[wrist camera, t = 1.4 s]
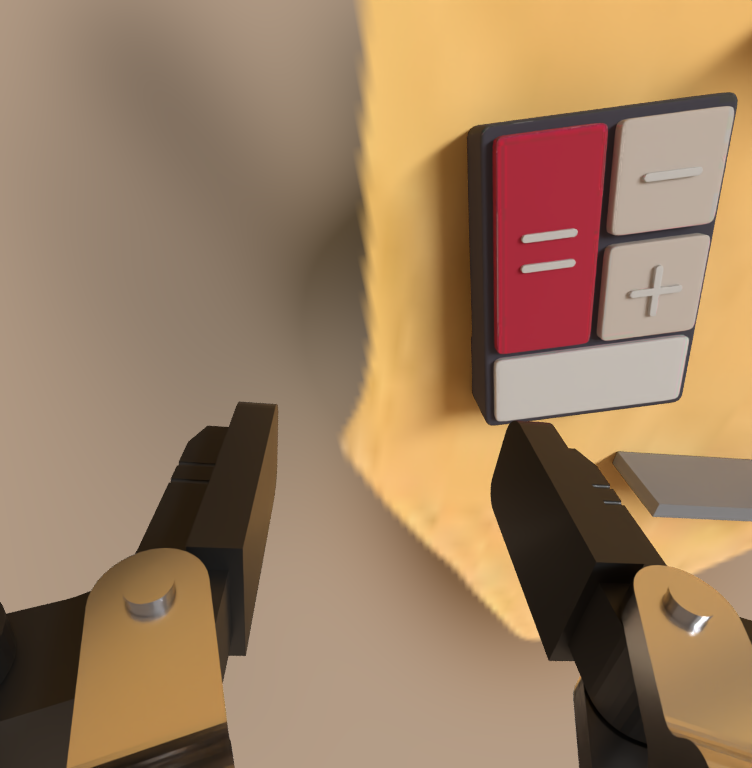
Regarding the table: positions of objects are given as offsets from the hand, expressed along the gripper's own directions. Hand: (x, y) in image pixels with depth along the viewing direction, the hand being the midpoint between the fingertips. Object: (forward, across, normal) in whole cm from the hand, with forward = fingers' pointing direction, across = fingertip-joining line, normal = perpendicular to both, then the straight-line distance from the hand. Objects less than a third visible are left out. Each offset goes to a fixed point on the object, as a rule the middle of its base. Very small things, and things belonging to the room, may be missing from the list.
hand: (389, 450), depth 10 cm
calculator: (+18, -11, 0) cm, 21 cm away
